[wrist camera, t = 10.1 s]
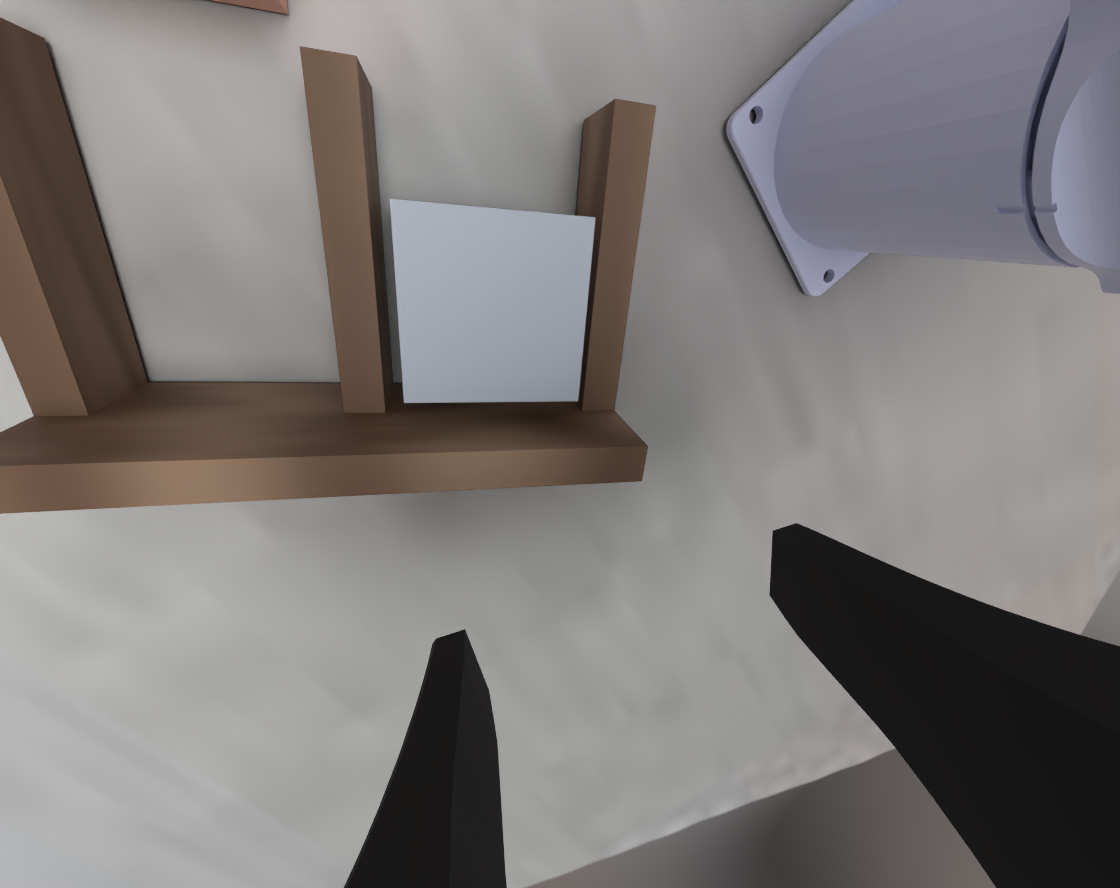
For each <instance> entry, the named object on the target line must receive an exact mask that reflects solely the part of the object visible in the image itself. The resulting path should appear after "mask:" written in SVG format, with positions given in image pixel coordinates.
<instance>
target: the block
mask: <svg viewBox="0 0 1120 888" xmlns="http://www.w3.org/2000/svg"><path fill="white" fill-rule="evenodd" d="M390 210H391V225H392V239H393V253H394V267H395V282H396V296H397V310H398V325H399V339H400V353H401V367H402V382H403V396H404V403H452V402H552V401H578V397H579V387H580V376H581V366H582V355H583V345H584V334H585V324H586V313H587V303H588V292H589V282H590V271H591V261H592V250H593V240H594V229H595V218H596V217H586V216H575V215H564V214H553V213H542V212H531V211H519V210H508V209H497V208H486V207H475V206H464V205H453V204H442V203H431V202H420V201H409V200H398V199H390Z"/></svg>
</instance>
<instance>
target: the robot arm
mask: <svg viewBox="0 0 1120 888" xmlns="http://www.w3.org/2000/svg"><path fill="white" fill-rule="evenodd" d="M751 109H754V110H755V112H756V120H755V122H754V123H753V124H752V123H751V121H750V118H749V115H750V111H751ZM726 133H727V137H728V139H729V141H730V144H731V146H732V148H733V150H734V152H735V154H736V156H737V158H738V160H739V162H740V164H741V166H742V168H743V170H744V172H745V174H746V176H747V178H748V180H749V182H750V184H751V186H752V188H753V190H754V192H755V194H756V196H757V198H758V200H759V202H760V204H761V206H762V208H763V210H764V212H765V214H766V216H767V218H768V220H769V223H770V225H771V227H772V229H773V231H774V233H775V235H776V237H777V239H778V241H779V243H780V245H781V247H782V249H783V251H784V253H785V255H786V257H787V259H788V261H789V263H790V265H791V267H792V269H793V271H794V273H795V275H796V277H797V279H798V281H799V283H800V285H801V287H802V289H803V291H804V293H805V294H806V295H809V296H813V297H817V296H820V295H821V294H823V293H824V292H825V291H826V290H828V289H829V288H830V287H831V286H832V285H833V284H835V283H836V282H837V281H838V280H839V279H840V278H841V277H843V276H844V275H845V274H846V273H847V272H848V271H850V270H851V269H852V268H853V267H854V266H855V265H857V264H858V263H859V262H860V261H861V260H862V259H864V258H865V257H866V256H867V255H868V254H869V253H870V252H872V253H885V254H899V255H913V256H926V257H940V258H954V259H968V260H981V261H995V262H1009V263H1022V264H1036V265H1050V266H1063V267H1082V268H1085V269H1088V270H1091V271H1092V272H1094V273H1095V274H1096V275H1097V277H1098V278H1099V280H1100V285H1101V289H1102V291H1103V292H1105V293H1115V294H1120V0H852V1H851V2H850V3H849V4H848V5H847V6H846V7H845V8H844V9H843V10H842V11H841V12H840V13H839V14H838V15H836V16H835V17H834V18H833V19H832V20H831V21H830V22H829V23H828V24H827V25H826V26H825V27H824V28H823V29H822V30H821V31H820V32H819V33H817V34H816V35H815V36H814V37H813V38H812V39H811V40H810V41H809V42H808V43H807V44H806V45H805V46H804V47H803V48H802V49H801V50H800V51H799V52H797V53H796V54H795V55H794V56H793V57H792V58H791V59H790V60H789V61H788V62H787V63H786V64H785V65H784V66H783V67H782V68H781V69H780V70H778V71H777V72H776V73H775V74H774V75H773V76H772V77H771V78H770V79H769V80H768V81H767V82H766V83H765V84H764V85H763V86H762V87H761V88H759V89H758V90H757V91H756V92H755V93H754V94H753V95H752V96H751V97H750V98H749V99H748V100H747V101H746V102H745V103H744V104H743V105H742V106H740V107H739V108H738V109H737V110H736V111H735V112H734V113H733V114H732V115H731V117H730V118H729V120H728V123H727V125H726ZM826 271H827V273H828V274H827V277H826V279H825V280H824V279H823V277H824V274H825V272H826ZM770 596H771V598H772V599H773V601H774V602H775V604H776V605H777V607H778V608H779V610H780V611H781V613H782V614H783V616H784V617H785V619H786V620H787V621H788V623H789V624H790V626H791V627H792V628H793V630H794V631H795V632H796V634H797V635H798V636H799V638H800V639H801V640H802V641H803V642H804V643H805V645H806V646H807V647H808V648H809V649H810V650H811V651H812V653H813V654H814V655H815V656H816V657H817V658H818V659H819V661H820V662H821V663H822V664H823V665H824V666H825V667H826V669H827V670H828V671H829V672H830V673H831V674H832V675H833V676H834V678H835V679H836V680H837V681H838V682H839V683H840V684H841V685H842V687H843V688H844V689H845V690H846V691H847V692H848V693H849V694H850V696H851V697H852V698H853V699H854V700H855V701H856V702H857V703H858V705H859V706H860V707H861V708H862V709H863V710H864V711H865V712H866V714H867V715H868V716H869V717H870V718H871V719H872V720H873V721H874V723H875V724H876V725H877V726H878V727H879V728H880V730H881V731H882V732H883V733H884V734H885V736H886V737H887V738H888V739H889V740H890V742H891V743H892V744H893V745H894V746H895V748H896V749H897V750H898V752H899V753H900V754H901V756H902V757H903V758H904V760H905V761H906V762H907V764H908V765H909V766H910V768H911V769H912V770H913V772H914V773H915V774H916V776H917V777H918V778H919V780H920V781H921V782H922V784H923V785H924V786H925V788H926V789H927V790H928V792H929V793H930V794H931V796H932V797H933V798H934V800H935V801H936V803H937V804H938V805H939V807H940V808H941V809H942V811H943V812H944V814H945V815H946V816H947V818H948V819H949V821H950V822H951V823H952V825H953V826H954V828H955V829H956V830H957V832H958V833H959V835H960V836H961V837H962V839H963V840H964V842H965V843H966V844H967V846H968V847H969V848H970V850H971V851H972V853H973V854H974V856H975V857H976V858H977V860H978V861H979V863H980V864H981V866H982V867H983V869H984V870H985V872H986V873H987V875H988V876H989V878H990V879H991V880H992V882H993V884H994V885H995V886H996V888H1120V646H1116V645H1113V644H1109V643H1106V642H1102V641H1098V640H1095V639H1092V638H1088V637H1085V636H1081V635H1078V634H1075V633H1072V632H1068V631H1065V630H1062V629H1059V628H1056V627H1052V626H1049V625H1046V624H1043V623H1041V622H1038V621H1035V620H1032V619H1029V618H1026V617H1023V616H1020V615H1017V614H1014V613H1011V612H1008V611H1005V610H1002V609H999V608H997V607H994V606H991V605H988V604H985V603H983V602H980V601H977V600H975V599H972V598H970V597H967V596H965V595H962V594H959V593H957V592H954V591H952V590H949V589H947V588H944V587H942V586H939V585H937V584H934V583H932V582H929V581H927V580H924V579H922V578H920V577H917V576H915V575H913V574H910V573H908V572H906V571H903V570H901V569H899V568H896V567H894V566H892V565H889V564H887V563H885V562H883V561H880V560H878V559H876V558H874V557H871V556H869V555H867V554H865V553H863V552H860V551H858V550H856V549H854V548H851V547H849V546H847V545H845V544H843V543H840V542H838V541H836V540H834V539H832V538H829V537H827V536H825V535H823V534H821V533H818V532H816V531H814V530H811V529H809V528H807V527H804V526H802V525H800V524H797V523H796V524H793V525H789V526H786V527H783V528H780V529H777V530H774V531H773V538H772V558H771V578H770ZM344 888H507V886H506V875H505V861H504V844H503V827H502V811H501V794H500V778H499V762H498V747H497V737H496V731H495V724H494V718H493V712H492V706H491V700H490V694H489V689H488V687H487V684H486V682H485V679H484V677H483V674H482V672H481V669H480V667H479V664H478V661H477V659H476V656H475V654H474V651H473V649H472V646H471V644H470V641H469V638H468V636H467V633H466V631H465V630H462V631H459V632H455V633H452V634H449V635H446V636H443V637H440V638H437V639H436V640H435V641H434V643H433V644H432V648H431V653H430V657H429V661H428V665H427V669H426V672H425V676H424V679H423V683H422V686H421V690H420V693H419V696H418V700H417V703H416V706H415V710H414V713H413V716H412V719H411V721H410V724H409V727H408V730H407V733H406V736H405V739H404V742H403V745H402V748H401V751H400V754H399V757H398V759H397V762H396V765H395V767H394V770H393V773H392V775H391V778H390V780H389V783H388V785H387V788H386V791H385V793H384V796H383V798H382V801H381V804H380V806H379V809H378V811H377V814H376V816H375V819H374V821H373V823H372V826H371V828H370V830H369V833H368V835H367V837H366V840H365V842H364V844H363V847H362V849H361V851H360V853H359V856H358V858H357V860H356V862H355V865H354V867H353V869H352V871H351V873H350V876H349V878H348V880H347V882H346V884H345V886H344Z"/></svg>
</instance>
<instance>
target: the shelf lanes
mask: <svg viewBox="0 0 1120 888" xmlns="http://www.w3.org/2000/svg"><path fill="white" fill-rule="evenodd" d="M300 52H301V60H302V68H303V77H304V85H305V93H306V101H307V110H308V118H309V126H310V134H311V143H312V151H313V159H314V167H315V176H316V184H317V192H318V201H319V209H320V217H321V225H322V234H323V242H324V250H325V258H326V267H327V275H328V283H329V291H330V300H331V308H332V316H333V324H334V333H335V341H336V349H337V357H338V366H339V374H340V382H341V383H182V382H148V381H147V378H146V375H145V371H144V368H143V365H142V361H141V358H140V355H139V351H138V348H137V345H136V341H135V338H134V335H133V331H132V328H131V325H130V321H129V318H128V315H127V311H126V308H125V305H124V301H123V298H122V295H121V291H120V288H119V285H118V281H117V278H116V275H115V271H114V268H113V265H112V261H111V258H110V255H109V252H108V248H107V245H106V242H105V238H104V235H103V232H102V228H101V225H100V222H99V218H98V215H97V212H96V208H95V205H94V202H93V198H92V195H91V192H90V188H89V185H88V182H87V178H86V175H85V172H84V168H83V165H82V162H81V158H80V155H79V152H78V148H77V145H76V142H75V138H74V135H73V132H72V128H71V125H70V122H69V118H68V115H67V112H66V108H65V105H64V102H63V98H62V95H61V92H60V88H59V85H58V82H57V79H56V75H55V72H54V69H53V65H52V62H51V59H50V55H49V52H48V49H47V45H46V42H45V39H44V38H43V37H41V36H39V35H36V34H34V33H32V32H30V31H28V30H26V29H24V28H21V27H19V26H17V25H15V24H13V23H11V22H9V21H6V20H4V19H2V18H0V336H1V338H2V341H3V343H4V346H5V348H6V350H7V353H8V355H9V358H10V360H11V362H12V365H13V367H14V369H15V372H16V374H17V377H18V379H19V381H20V384H21V386H22V388H23V391H24V393H25V396H26V398H27V400H28V403H29V405H30V408H31V410H32V412H33V415H34V416H33V417H31V418H29V419H27V420H25V421H23V422H21V423H19V424H17V425H15V426H13V427H11V428H9V429H7V430H5V431H3V432H0V514H1V513H21V512H40V511H60V510H80V509H100V508H120V507H139V506H159V505H179V504H199V503H218V502H238V501H258V500H278V499H298V498H317V497H337V496H357V495H377V494H397V493H416V492H436V491H456V490H476V489H495V488H515V487H535V486H555V485H575V484H594V483H614V482H634V481H642V477H643V471H644V466H645V460H646V454H647V449H648V446H647V445H646V444H645V443H644V442H643V440H642V439H641V438H640V437H639V436H638V435H637V434H636V433H635V432H634V431H633V430H632V429H631V428H630V427H629V426H628V424H627V423H626V422H625V421H624V420H623V419H622V418H621V417H620V416H619V415H618V414H617V413H616V412H615V411H614V409H615V402H616V394H617V387H618V380H619V373H620V365H621V358H622V351H623V343H624V336H625V329H626V322H627V314H628V307H629V300H630V292H631V285H632V278H633V271H634V263H635V256H636V249H637V242H638V234H639V227H640V220H641V212H642V205H643V198H644V191H645V183H646V176H647V169H648V162H649V154H650V147H651V140H652V132H653V125H654V118H655V111H656V106H655V105H649V104H643V103H637V102H631V101H625V100H619V99H614V100H613V101H612V102H610V103H609V104H607V105H606V106H604V107H603V108H601V109H600V110H598V111H597V112H595V113H594V114H592V115H591V116H589V117H588V118H586V119H585V120H584V129H583V141H582V153H581V165H580V176H579V188H578V200H577V212H576V216H586V217H596V218H595V229H594V240H593V250H592V261H591V271H590V282H589V292H588V303H587V313H586V324H585V334H584V345H583V355H582V366H581V376H580V387H579V397H578V401H552V402H452V403H404V396H403V384H393V376H392V362H391V348H390V334H389V320H388V306H387V293H386V279H385V265H384V251H383V237H382V223H381V210H380V196H379V182H378V168H377V154H376V140H375V127H374V113H373V99H372V87H371V85H370V83H369V81H368V79H367V77H366V75H365V73H364V71H363V69H362V67H361V65H360V63H359V61H358V58H357V56H354V55H348V54H342V53H336V52H330V51H324V50H318V49H312V48H306V47H300Z"/></svg>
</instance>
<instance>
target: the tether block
mask: <svg viewBox="0 0 1120 888" xmlns="http://www.w3.org/2000/svg"><path fill="white" fill-rule="evenodd" d="M212 1H218V2H223V3H229V4H234V5H240V6H245V7H251V8H256V9H262V10H267V11H273V12H278V13H284V14H288V6H287V0H212Z"/></svg>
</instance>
